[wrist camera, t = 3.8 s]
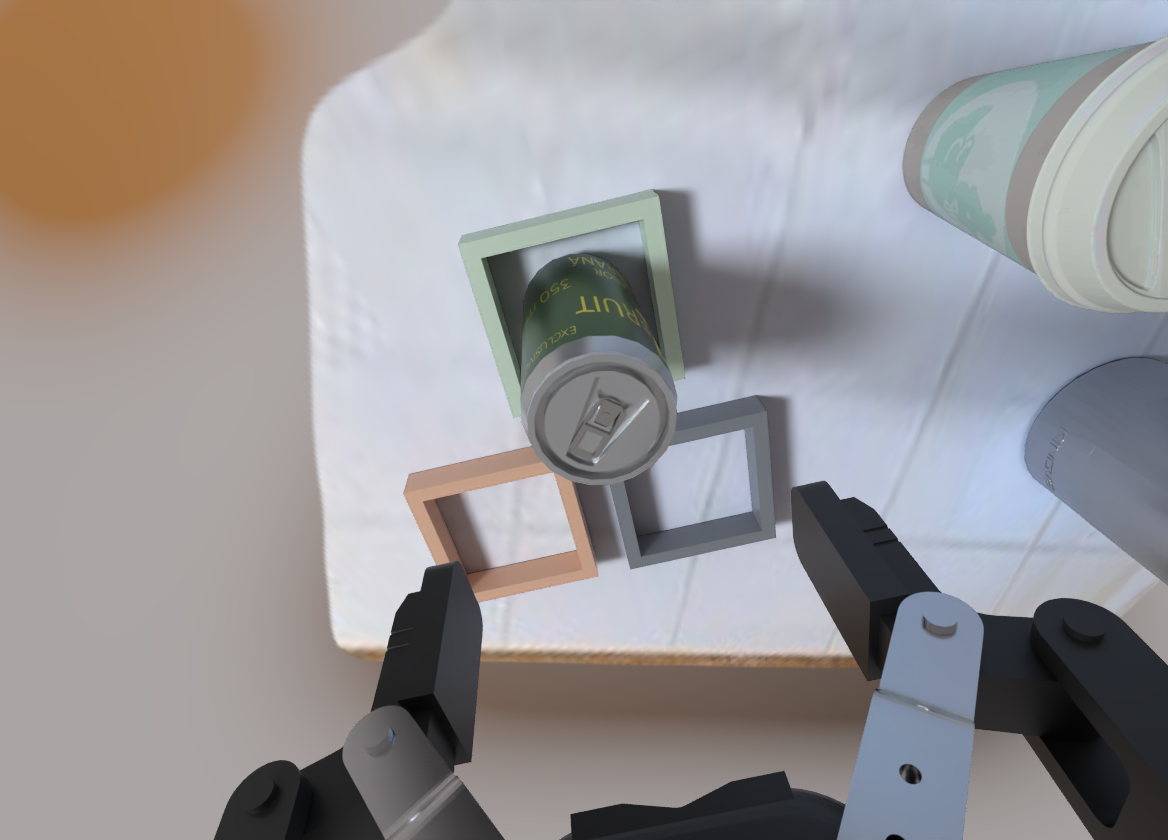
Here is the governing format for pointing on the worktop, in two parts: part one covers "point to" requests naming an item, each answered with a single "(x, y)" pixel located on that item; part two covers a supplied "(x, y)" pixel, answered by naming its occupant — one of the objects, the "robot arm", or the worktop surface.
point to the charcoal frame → (718, 531)
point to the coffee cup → (1058, 172)
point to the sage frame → (560, 227)
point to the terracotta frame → (489, 473)
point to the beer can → (592, 375)
